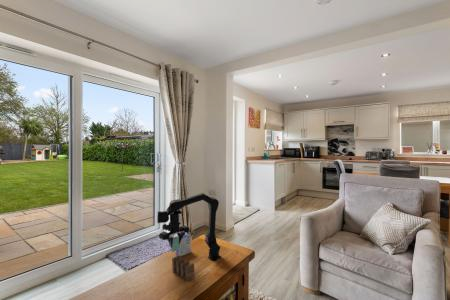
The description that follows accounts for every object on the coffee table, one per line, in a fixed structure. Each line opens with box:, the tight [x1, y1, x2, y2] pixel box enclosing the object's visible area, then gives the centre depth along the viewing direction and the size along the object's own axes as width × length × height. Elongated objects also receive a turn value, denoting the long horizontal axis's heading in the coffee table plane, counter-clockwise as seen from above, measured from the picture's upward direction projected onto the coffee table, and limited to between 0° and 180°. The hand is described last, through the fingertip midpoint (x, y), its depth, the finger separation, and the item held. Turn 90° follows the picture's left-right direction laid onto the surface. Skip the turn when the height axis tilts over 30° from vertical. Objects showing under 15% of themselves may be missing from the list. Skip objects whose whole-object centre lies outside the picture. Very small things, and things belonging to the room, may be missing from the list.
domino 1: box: [170, 235, 179, 253], centre depth 134 cm, size 2×5×8 cm, turn 136°
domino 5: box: [185, 262, 196, 283], centre depth 120 cm, size 2×5×8 cm, turn 137°
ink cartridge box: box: [175, 232, 192, 257], centre depth 150 cm, size 10×6×14 cm, turn 131°
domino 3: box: [176, 257, 186, 276], centre depth 126 cm, size 2×5×8 cm, turn 137°
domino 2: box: [171, 255, 182, 273], centre depth 129 cm, size 2×5×8 cm, turn 136°
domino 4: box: [180, 260, 190, 279], centre depth 123 cm, size 2×5×8 cm, turn 136°
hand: (174, 246), depth 134 cm, fingers closed on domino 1, 5 cm apart
